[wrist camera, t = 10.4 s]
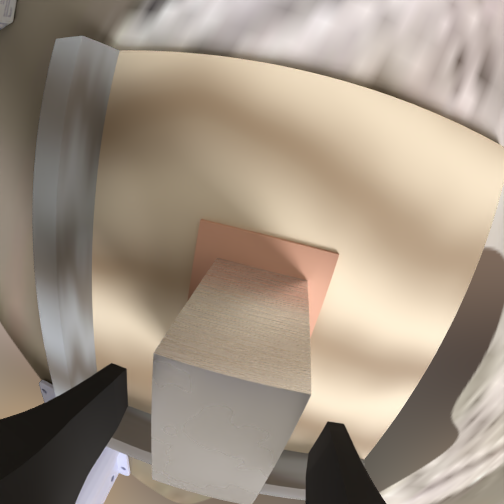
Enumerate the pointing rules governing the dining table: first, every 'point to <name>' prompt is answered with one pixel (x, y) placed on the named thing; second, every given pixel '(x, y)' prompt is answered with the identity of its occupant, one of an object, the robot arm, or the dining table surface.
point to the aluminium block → (231, 382)
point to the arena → (251, 224)
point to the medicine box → (7, 12)
